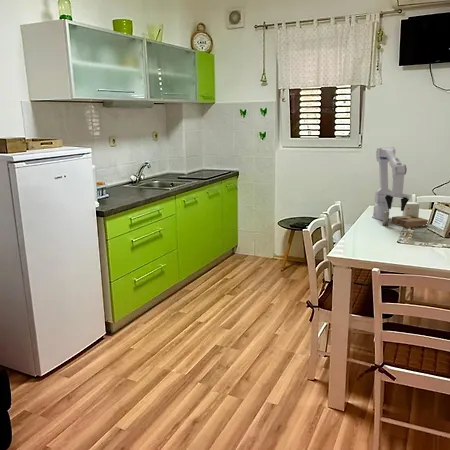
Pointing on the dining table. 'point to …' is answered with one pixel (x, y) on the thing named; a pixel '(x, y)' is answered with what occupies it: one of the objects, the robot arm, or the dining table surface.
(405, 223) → the board
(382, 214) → the robot arm
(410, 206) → the small box
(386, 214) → the pin
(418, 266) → the dining table surface
